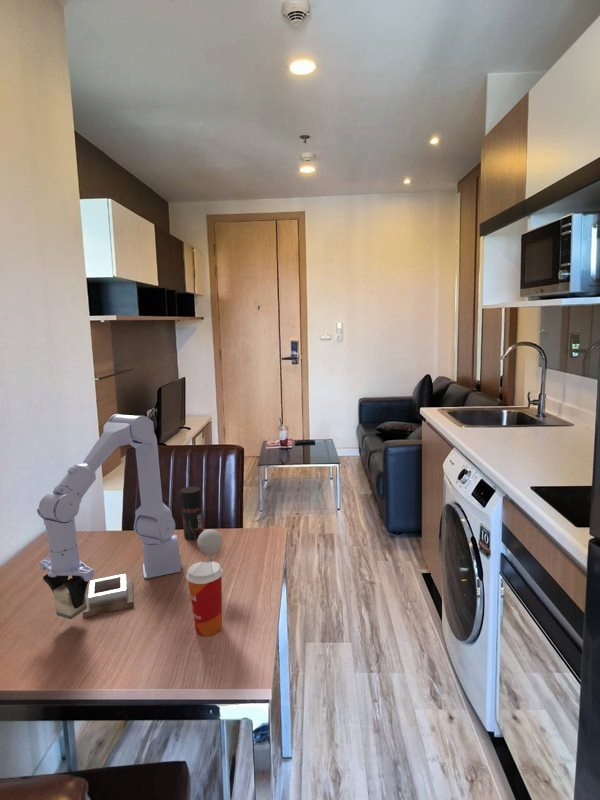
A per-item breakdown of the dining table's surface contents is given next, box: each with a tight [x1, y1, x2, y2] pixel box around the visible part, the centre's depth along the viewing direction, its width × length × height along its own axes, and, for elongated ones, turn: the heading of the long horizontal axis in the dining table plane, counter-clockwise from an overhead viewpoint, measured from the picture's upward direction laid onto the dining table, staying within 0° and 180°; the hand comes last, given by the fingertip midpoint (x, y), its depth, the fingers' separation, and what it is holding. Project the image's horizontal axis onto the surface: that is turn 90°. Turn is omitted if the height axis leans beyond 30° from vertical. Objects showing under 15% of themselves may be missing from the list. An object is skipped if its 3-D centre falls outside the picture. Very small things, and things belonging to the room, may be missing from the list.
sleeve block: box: [52, 584, 87, 620], centre depth 112 cm, size 4×4×6 cm
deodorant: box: [179, 486, 204, 541], centre depth 156 cm, size 6×6×15 cm
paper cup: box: [185, 560, 224, 637], centre depth 108 cm, size 8×8×14 cm
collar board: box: [82, 573, 135, 618], centre depth 123 cm, size 11×12×4 cm
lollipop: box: [196, 529, 223, 562], centre depth 125 cm, size 6×6×15 cm
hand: (70, 603), depth 112 cm, fingers closed on sleeve block, 4 cm apart
